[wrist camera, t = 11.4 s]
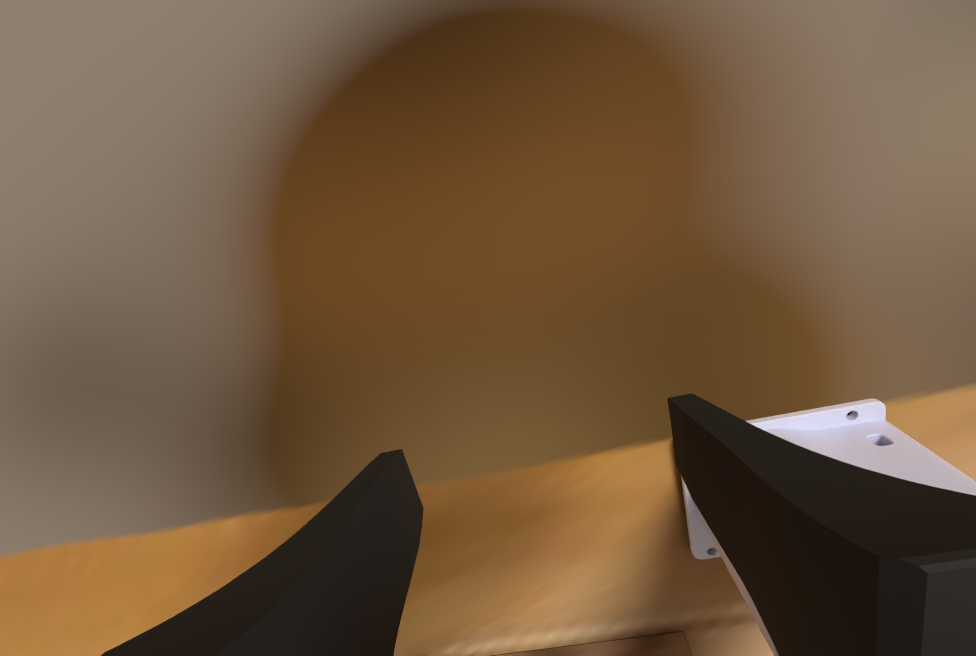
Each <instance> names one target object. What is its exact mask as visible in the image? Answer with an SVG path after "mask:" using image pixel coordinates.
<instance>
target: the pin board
mask: <svg viewBox="0 0 976 656" xmlns="http://www.w3.org/2000/svg"><path fill="white" fill-rule="evenodd" d="M495 656H692V655H691V653H690V650H689V647H688V645H687V642H686V639H685V637H684V634H683V632H677V633H669V634H661V635H653V636H645V637H637V638H629V639H621V640H613V641H606V642H598V643H590V644H582V645H574V646H566V647H558V648H550V649H542V650H534V651H527V652H519V653H511V654H503V655H495Z"/></svg>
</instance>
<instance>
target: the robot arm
mask: <svg viewBox="0 0 976 656" xmlns="http://www.w3.org/2000/svg"><path fill="white" fill-rule="evenodd" d="M668 405H669V413H670V420H671V427H672V434H673V442H674V449H675V456H676V464H677V466H678V469H679V471H680V473H681V480H682V488H683V495H684V503H685V511H686V518H687V526H688V534H689V541H690V549H691V552H692V554H693V556H694V557H695V558H696V559H710V558H717V557H721V558H722V559H723V561H724V563H725V565H726V567H727V569H728V571H729V572H730V574H731V576H732V578H733V580H734V582H735V584H736V585H737V587H738V589H739V591H740V593H741V595H742V597H743V598H744V600H745V602H746V604H747V606H748V608H749V610H750V611H751V613H752V615H753V617H754V619H755V621H756V622H757V624H758V626H759V628H760V630H761V632H762V634H763V635H764V637H765V639H766V641H767V643H768V645H769V647H770V648H771V650H772V652H773V654H774V656H976V481H974V480H973V479H971V478H970V477H968V476H967V475H965V474H964V473H962V472H961V471H959V470H958V469H956V468H955V467H953V466H952V465H950V464H949V463H948V462H946V461H945V460H943V459H942V458H940V457H939V456H937V455H936V454H934V453H933V452H931V451H930V450H928V449H927V448H925V447H924V446H922V445H921V444H919V443H918V442H917V441H915V440H914V439H912V438H911V437H909V436H908V435H906V434H905V433H903V432H902V431H900V430H899V429H897V428H896V427H894V426H893V425H891V424H890V423H889V422H887V421H885V417H886V408H885V405H884V404H883V403H882V402H880V401H879V400H876V399H866V400H861V401H854V402H849V403H843V404H838V405H832V406H827V407H821V408H815V409H810V410H804V411H798V412H793V413H787V414H782V415H776V416H770V417H765V418H759V419H754V420H749V421H744V420H742V419H740V418H738V417H736V416H734V415H732V414H730V413H728V412H726V411H725V410H723V409H721V408H719V407H717V406H715V405H713V404H712V403H710V402H708V401H706V400H704V399H702V398H700V397H698V396H696V395H694V394H692V393H691V394H686V395H681V396H676V397H670V398H668ZM850 411H852V413H851V414H850V415H848V416H847V414H848V413H849V412H850ZM422 517H423V506H422V503H421V500H420V498H419V495H418V492H417V489H416V487H415V484H414V481H413V478H412V476H411V473H410V470H409V467H408V465H407V462H406V459H405V456H404V454H403V451H402V449H400V450H395V451H389V452H384V453H381V454H380V455H378V456H377V457H376V458H375V459H374V460H373V461H371V462H370V463H369V464H368V465H367V466H366V467H365V468H364V469H363V470H362V471H361V472H360V473H359V474H358V475H357V476H356V477H355V478H354V479H353V480H352V481H351V482H350V483H349V484H348V485H347V486H346V487H345V488H344V489H343V490H342V491H341V492H340V493H339V494H338V495H337V496H336V497H335V498H334V499H333V500H332V501H331V502H330V503H329V504H327V505H326V506H325V507H324V508H323V509H322V510H321V511H320V512H319V513H318V514H317V515H315V516H314V517H313V518H312V519H311V520H310V521H309V522H308V523H307V524H306V525H305V526H303V527H302V528H301V529H300V530H299V531H298V532H296V533H295V534H294V535H293V536H292V537H290V538H289V539H288V540H287V541H286V542H284V543H283V544H282V545H281V546H279V547H278V548H277V549H275V550H274V551H273V552H272V553H270V554H269V555H268V556H266V557H265V558H264V559H262V560H261V561H260V562H258V563H257V564H255V565H254V566H252V567H251V568H250V569H248V570H247V571H245V572H244V573H242V574H241V575H239V576H238V577H236V578H235V579H234V580H232V581H231V582H229V583H228V584H226V585H225V586H223V587H222V588H220V589H219V590H217V591H216V592H214V593H212V594H211V595H209V596H207V597H206V598H204V599H203V600H201V601H199V602H198V603H196V604H194V605H193V606H191V607H189V608H188V609H186V610H184V611H182V612H181V613H179V614H177V615H176V616H174V617H172V618H170V619H168V620H167V621H165V622H163V623H161V624H159V625H157V626H155V627H153V628H152V629H150V630H148V631H146V632H144V633H142V634H140V635H138V636H136V637H134V638H132V639H130V640H128V641H127V642H125V643H123V644H121V645H119V646H117V647H115V648H113V649H111V650H109V651H107V652H105V653H103V654H102V655H101V656H393V655H394V648H395V643H396V638H397V633H398V628H399V624H400V620H401V616H402V612H403V608H404V604H405V600H406V596H407V592H408V588H409V585H410V581H411V577H412V573H413V569H414V565H415V560H416V556H417V552H418V548H419V543H420V536H421V528H422ZM710 548H712V549H710ZM708 549H710V550H708Z"/></svg>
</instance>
